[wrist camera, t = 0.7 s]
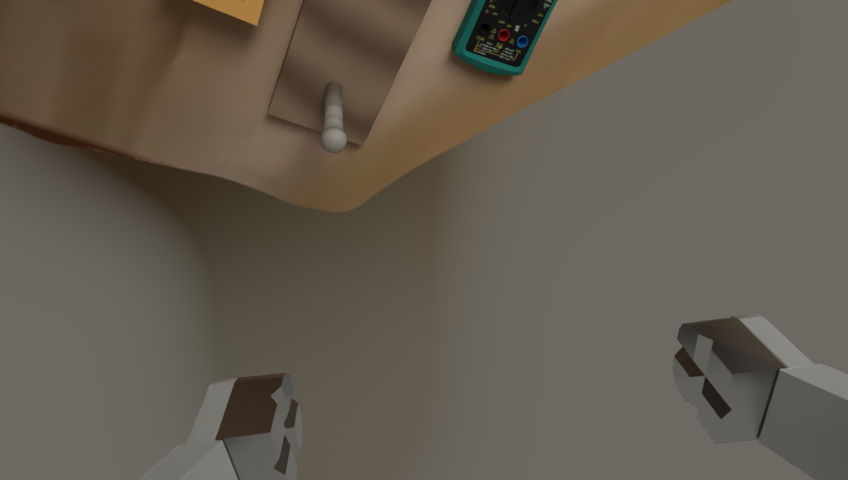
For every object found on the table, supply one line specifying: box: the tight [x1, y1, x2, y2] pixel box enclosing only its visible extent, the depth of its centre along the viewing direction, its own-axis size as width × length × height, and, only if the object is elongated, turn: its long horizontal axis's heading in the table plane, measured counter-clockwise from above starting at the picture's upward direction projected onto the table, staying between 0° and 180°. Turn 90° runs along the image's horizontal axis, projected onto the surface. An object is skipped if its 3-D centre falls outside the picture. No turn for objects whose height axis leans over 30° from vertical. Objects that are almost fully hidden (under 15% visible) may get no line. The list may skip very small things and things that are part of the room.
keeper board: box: [268, 0, 431, 153], centre depth 45 cm, size 22×10×12 cm, turn 154°
